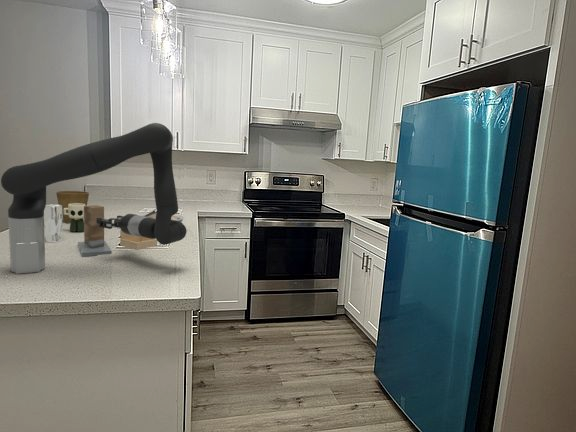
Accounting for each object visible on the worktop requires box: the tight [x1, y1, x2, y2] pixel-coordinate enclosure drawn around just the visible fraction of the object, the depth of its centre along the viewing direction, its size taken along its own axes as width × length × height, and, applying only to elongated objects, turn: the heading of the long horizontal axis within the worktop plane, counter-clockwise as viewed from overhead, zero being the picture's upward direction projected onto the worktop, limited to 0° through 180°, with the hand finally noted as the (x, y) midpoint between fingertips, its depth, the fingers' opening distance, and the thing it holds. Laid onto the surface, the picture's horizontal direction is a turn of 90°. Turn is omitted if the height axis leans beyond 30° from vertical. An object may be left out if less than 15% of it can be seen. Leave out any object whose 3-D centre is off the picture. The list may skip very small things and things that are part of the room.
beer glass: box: [44, 203, 64, 243], centre depth 157 cm, size 7×7×15 cm
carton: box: [119, 229, 158, 251], centre depth 156 cm, size 13×16×9 cm
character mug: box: [64, 203, 86, 232], centre depth 176 cm, size 11×7×13 cm, turn 115°
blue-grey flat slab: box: [77, 240, 113, 258], centre depth 147 cm, size 18×10×2 cm, turn 33°
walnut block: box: [83, 204, 105, 249], centre depth 146 cm, size 5×5×16 cm
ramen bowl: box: [139, 210, 185, 223], centre depth 191 cm, size 25×23×8 cm
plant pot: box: [55, 190, 90, 224], centre depth 196 cm, size 15×15×16 cm
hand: (107, 219), depth 142 cm, fingers open, 8 cm apart
